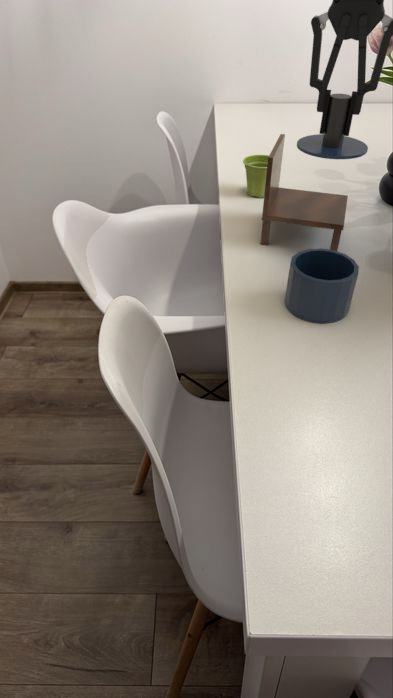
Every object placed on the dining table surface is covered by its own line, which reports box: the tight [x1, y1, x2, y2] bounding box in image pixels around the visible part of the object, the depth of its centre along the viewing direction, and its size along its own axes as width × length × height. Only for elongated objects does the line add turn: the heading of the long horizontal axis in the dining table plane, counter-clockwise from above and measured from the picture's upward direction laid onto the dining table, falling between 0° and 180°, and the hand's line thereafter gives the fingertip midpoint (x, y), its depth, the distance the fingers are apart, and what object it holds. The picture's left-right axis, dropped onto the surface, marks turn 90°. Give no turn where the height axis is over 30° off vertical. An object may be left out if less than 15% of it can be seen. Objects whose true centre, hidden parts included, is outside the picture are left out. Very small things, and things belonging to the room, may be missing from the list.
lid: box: [296, 93, 369, 160], centre depth 85 cm, size 13×13×9 cm
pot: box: [284, 247, 360, 324], centre depth 87 cm, size 12×12×8 cm
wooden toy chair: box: [260, 133, 349, 252], centre depth 105 cm, size 17×16×19 cm
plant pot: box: [242, 154, 270, 199], centre depth 126 cm, size 9×9×9 cm
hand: (334, 132), depth 86 cm, fingers closed on lid, 4 cm apart
